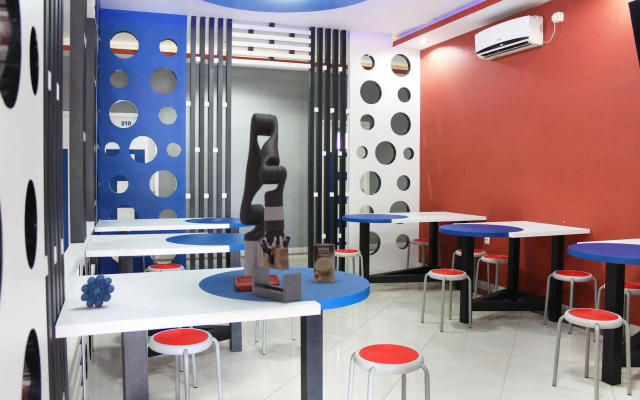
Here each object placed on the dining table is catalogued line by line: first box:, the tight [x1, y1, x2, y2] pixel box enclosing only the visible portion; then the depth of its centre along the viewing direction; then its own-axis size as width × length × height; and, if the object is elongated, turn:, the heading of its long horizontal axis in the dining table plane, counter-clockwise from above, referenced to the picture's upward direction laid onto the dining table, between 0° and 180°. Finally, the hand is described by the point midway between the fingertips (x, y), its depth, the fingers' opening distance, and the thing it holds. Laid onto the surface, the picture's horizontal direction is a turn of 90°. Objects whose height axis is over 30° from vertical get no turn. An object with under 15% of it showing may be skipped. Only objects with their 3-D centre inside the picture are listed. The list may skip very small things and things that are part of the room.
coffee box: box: [313, 243, 336, 284], centre depth 231 cm, size 9×6×16 cm
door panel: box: [263, 247, 290, 271], centre depth 204 cm, size 12×3×8 cm, turn 42°
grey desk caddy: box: [251, 267, 302, 304], centre depth 204 cm, size 22×7×10 cm, turn 41°
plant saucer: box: [234, 274, 282, 292], centre depth 224 cm, size 18×18×3 cm
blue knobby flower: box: [80, 273, 115, 308], centre depth 195 cm, size 12×7×12 cm, turn 100°
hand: (275, 263), depth 204 cm, fingers closed on door panel, 3 cm apart
